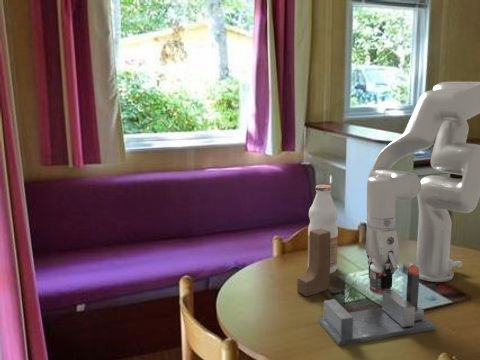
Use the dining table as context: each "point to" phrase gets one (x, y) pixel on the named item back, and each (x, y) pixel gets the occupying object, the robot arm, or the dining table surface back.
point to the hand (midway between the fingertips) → (380, 282)
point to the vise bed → (365, 324)
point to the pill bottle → (376, 278)
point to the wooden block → (316, 264)
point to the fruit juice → (324, 220)
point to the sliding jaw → (404, 301)
